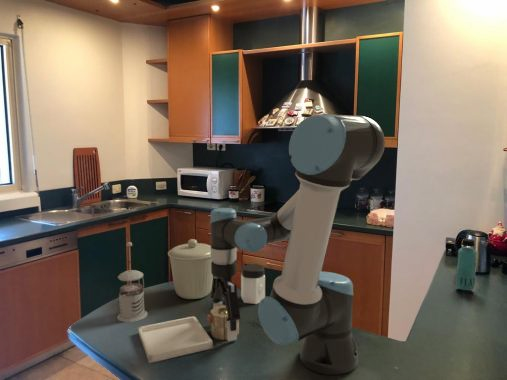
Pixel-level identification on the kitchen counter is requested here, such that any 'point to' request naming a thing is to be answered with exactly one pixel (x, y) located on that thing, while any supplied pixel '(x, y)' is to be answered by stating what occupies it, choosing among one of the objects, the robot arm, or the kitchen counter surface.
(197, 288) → the canister
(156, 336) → the tray
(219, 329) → the ring
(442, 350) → the kitchen counter surface
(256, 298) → the jar
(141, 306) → the french press
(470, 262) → the beverage bottle
